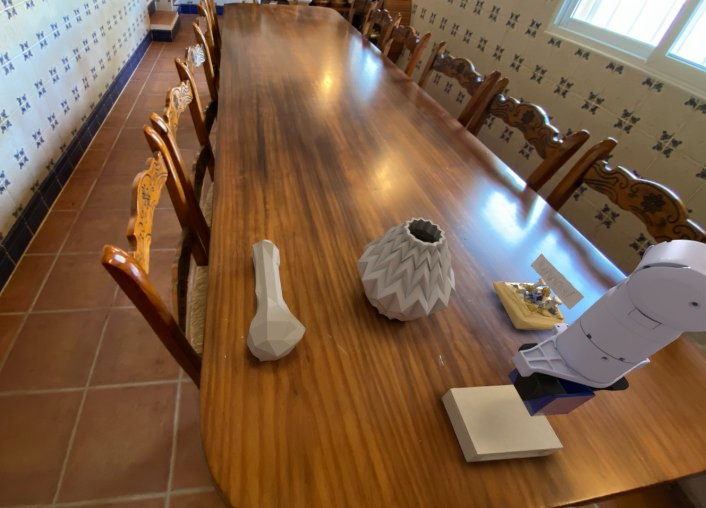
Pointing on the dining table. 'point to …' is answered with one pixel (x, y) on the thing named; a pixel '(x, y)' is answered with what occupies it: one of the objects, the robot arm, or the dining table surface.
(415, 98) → the dining table surface
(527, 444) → the beige flat block
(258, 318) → the faceted club
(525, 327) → the cake
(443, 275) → the vase
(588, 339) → the robot arm
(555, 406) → the box
